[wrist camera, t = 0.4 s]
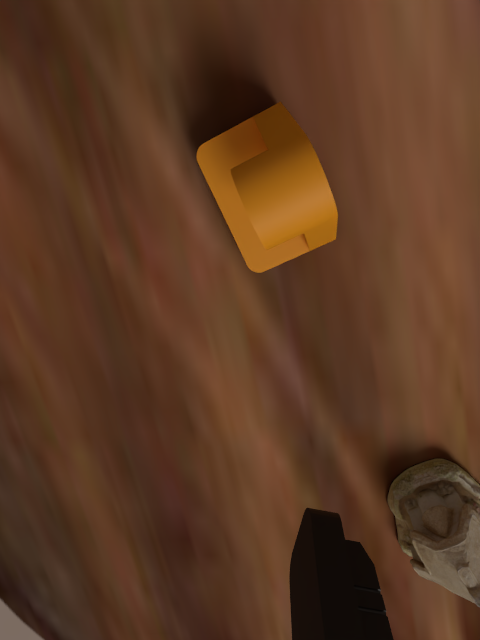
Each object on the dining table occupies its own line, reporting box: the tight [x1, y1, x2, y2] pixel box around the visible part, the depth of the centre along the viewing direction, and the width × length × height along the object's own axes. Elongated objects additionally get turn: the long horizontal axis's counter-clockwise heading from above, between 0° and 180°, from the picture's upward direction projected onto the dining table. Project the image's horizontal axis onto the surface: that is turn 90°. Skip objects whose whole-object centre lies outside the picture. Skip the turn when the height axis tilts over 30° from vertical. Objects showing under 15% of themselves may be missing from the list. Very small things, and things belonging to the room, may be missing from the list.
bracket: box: [197, 102, 338, 273], centre depth 28 cm, size 11×7×12 cm, turn 26°
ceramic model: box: [387, 459, 480, 607], centre depth 40 cm, size 14×11×10 cm
